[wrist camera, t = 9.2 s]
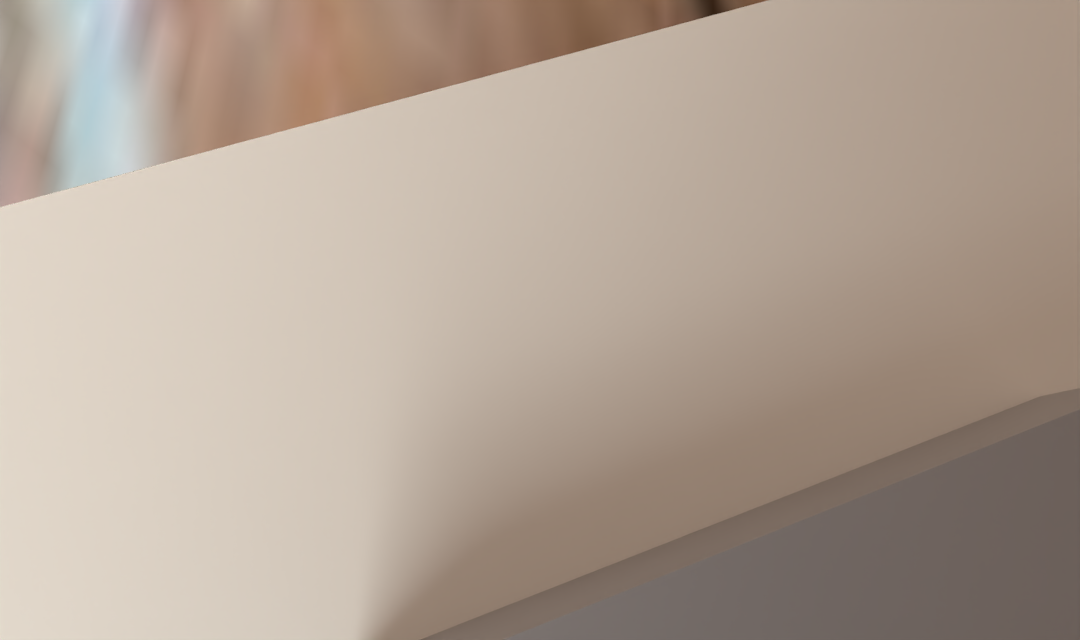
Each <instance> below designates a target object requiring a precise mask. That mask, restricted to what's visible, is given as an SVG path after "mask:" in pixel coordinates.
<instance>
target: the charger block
mask: <svg viewBox="0 0 1080 640" xmlns="http://www.w3.org/2000/svg"><path fill="white" fill-rule="evenodd" d="M0 640H1080V0H768V1H764V2H760V3H757V4H753V5H749V6H745V7H742V8H738V9H734V10H731V11H727V12H723V13H719V14H716V15H712V16H708V17H705V18H701V19H697V20H693V21H690V22H686V23H682V24H679V25H675V26H671V27H667V28H664V29H660V30H656V31H653V32H649V33H645V34H642V35H638V36H634V37H630V38H627V39H623V40H619V41H616V42H612V43H608V44H604V45H601V46H597V47H593V48H590V49H586V50H582V51H578V52H575V53H571V54H567V55H564V56H560V57H556V58H552V59H549V60H545V61H541V62H538V63H534V64H530V65H526V66H523V67H519V68H515V69H512V70H508V71H504V72H500V73H497V74H493V75H489V76H486V77H482V78H478V79H474V80H471V81H467V82H463V83H460V84H456V85H452V86H448V87H445V88H441V89H437V90H434V91H430V92H426V93H422V94H419V95H415V96H411V97H408V98H404V99H400V100H396V101H393V102H389V103H385V104H382V105H378V106H374V107H371V108H367V109H363V110H359V111H356V112H352V113H348V114H345V115H341V116H337V117H333V118H330V119H326V120H322V121H319V122H315V123H311V124H307V125H304V126H300V127H296V128H293V129H289V130H285V131H281V132H278V133H274V134H270V135H267V136H263V137H259V138H255V139H252V140H248V141H244V142H241V143H237V144H233V145H229V146H226V147H222V148H218V149H215V150H211V151H207V152H203V153H200V154H196V155H192V156H189V157H185V158H181V159H177V160H174V161H170V162H166V163H163V164H159V165H155V166H151V167H148V168H144V169H140V170H137V171H133V172H129V173H125V174H122V175H118V176H114V177H111V178H107V179H103V180H99V181H96V182H92V183H88V184H85V185H81V186H77V187H74V188H70V189H66V190H62V191H59V192H55V193H51V194H48V195H44V196H40V197H36V198H33V199H29V200H25V201H22V202H18V203H14V204H10V205H7V206H3V207H0Z"/></svg>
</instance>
